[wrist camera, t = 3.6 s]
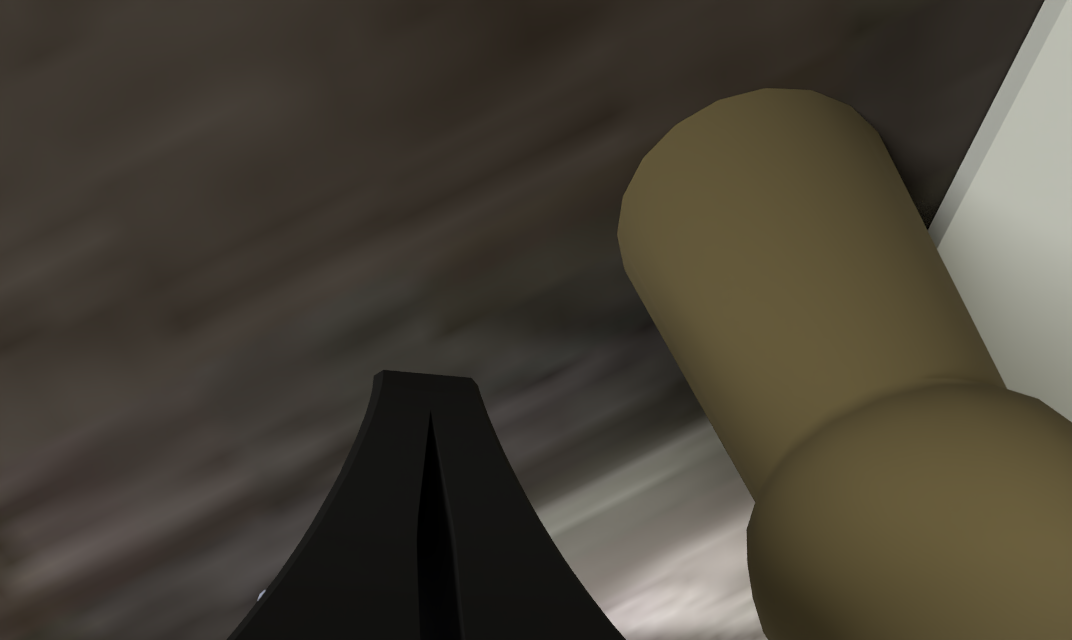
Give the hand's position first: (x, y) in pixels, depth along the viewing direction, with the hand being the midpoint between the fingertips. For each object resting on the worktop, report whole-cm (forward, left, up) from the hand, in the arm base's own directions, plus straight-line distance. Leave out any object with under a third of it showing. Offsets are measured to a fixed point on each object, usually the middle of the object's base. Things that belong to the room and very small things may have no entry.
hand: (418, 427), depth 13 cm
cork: (0, -7, -8) cm, 11 cm away
